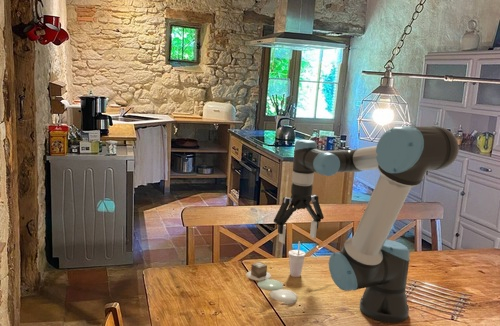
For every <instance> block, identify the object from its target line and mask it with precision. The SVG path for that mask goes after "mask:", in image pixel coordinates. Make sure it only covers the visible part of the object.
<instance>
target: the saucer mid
mask: <svg viewBox="0 0 500 326" xmlns="http://www.w3.org/2000/svg"><path fill="white" fill-rule="evenodd" d="M257 286H258V288H260V289H262V290H264V291H268V292H269V291H270V292H272V291H275V290H278V289H284V284H283V282H282V281H280V280H277V279H273V278H269V279H267V280H261V281H257Z"/></svg>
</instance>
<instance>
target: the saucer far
mask: <svg viewBox="0 0 500 326" xmlns="http://www.w3.org/2000/svg"><path fill="white" fill-rule="evenodd" d="M245 275H246V277H247V278H249V279H250V280H252V281H257V282H259V281H261V280H267V279H272V275H271V273H270V272H268V271H267V275H266V276H264V277H261V278H257V277H255V276H253V275H251V270H249V271H247V272H246V274H245Z"/></svg>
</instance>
